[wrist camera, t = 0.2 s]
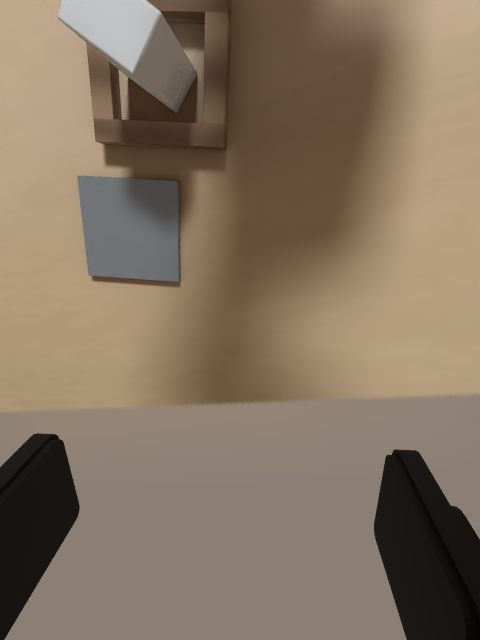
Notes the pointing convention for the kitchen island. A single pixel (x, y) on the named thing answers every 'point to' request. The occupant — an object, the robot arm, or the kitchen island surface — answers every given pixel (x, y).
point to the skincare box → (134, 44)
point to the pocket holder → (214, 10)
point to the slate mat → (131, 227)
